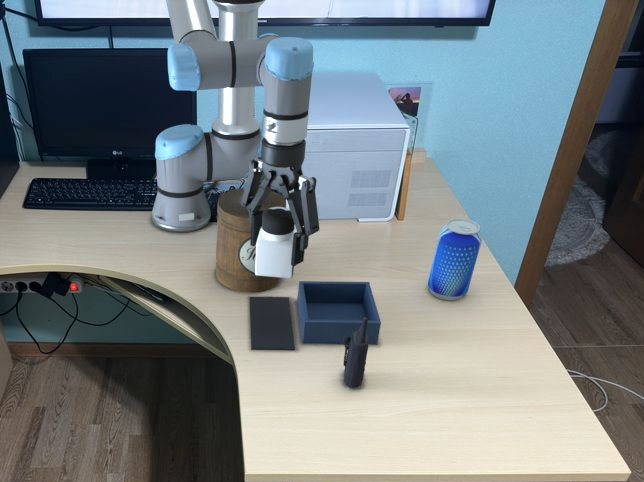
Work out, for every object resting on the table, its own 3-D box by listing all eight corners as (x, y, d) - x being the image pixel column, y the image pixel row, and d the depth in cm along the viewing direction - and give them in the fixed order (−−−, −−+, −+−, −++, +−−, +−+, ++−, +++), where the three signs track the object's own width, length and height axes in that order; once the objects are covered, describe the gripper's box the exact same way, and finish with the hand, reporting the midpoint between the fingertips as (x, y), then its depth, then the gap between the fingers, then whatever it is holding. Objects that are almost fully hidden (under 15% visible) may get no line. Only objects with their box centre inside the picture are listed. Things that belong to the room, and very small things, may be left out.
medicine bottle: (292, 279, 127) (297, 222, 119) (254, 275, 128) (257, 218, 121) (295, 260, 132) (300, 204, 125) (259, 257, 133) (262, 201, 126)
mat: (249, 298, 146) (249, 296, 145) (288, 298, 145) (288, 297, 145) (251, 349, 132) (251, 348, 131) (294, 350, 131) (294, 348, 131)
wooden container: (253, 300, 145) (258, 207, 131) (202, 276, 153) (202, 186, 139) (294, 273, 153) (302, 183, 140) (244, 251, 161) (247, 164, 148)
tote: (297, 301, 144) (299, 281, 141) (365, 302, 144) (369, 281, 140) (302, 343, 133) (304, 321, 130) (377, 344, 132) (381, 322, 129)
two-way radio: (362, 390, 122) (374, 324, 112) (337, 388, 122) (347, 321, 113) (361, 371, 126) (373, 305, 117) (337, 368, 127) (347, 303, 117)
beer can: (424, 298, 145) (440, 231, 135) (428, 278, 151) (443, 213, 141) (465, 305, 142) (484, 238, 132) (467, 284, 148) (485, 219, 138)
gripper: (222, 127, 119) (221, 239, 133) (321, 162, 106) (309, 283, 120) (251, 117, 123) (247, 226, 137) (350, 150, 110) (335, 267, 123)
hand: (276, 252), depth 128 cm, fingers closed on medicine bottle, 10 cm apart
